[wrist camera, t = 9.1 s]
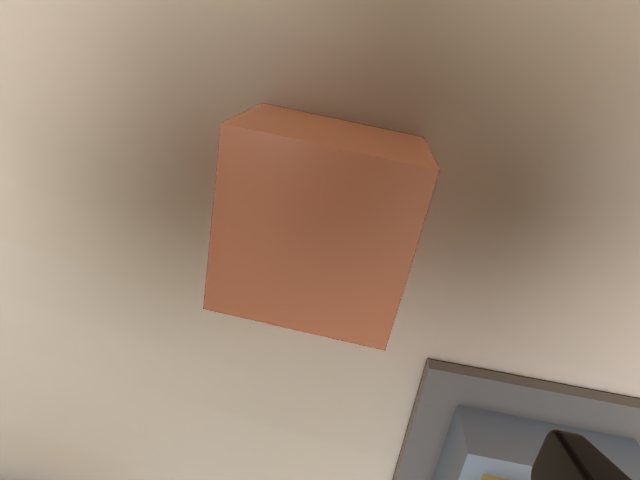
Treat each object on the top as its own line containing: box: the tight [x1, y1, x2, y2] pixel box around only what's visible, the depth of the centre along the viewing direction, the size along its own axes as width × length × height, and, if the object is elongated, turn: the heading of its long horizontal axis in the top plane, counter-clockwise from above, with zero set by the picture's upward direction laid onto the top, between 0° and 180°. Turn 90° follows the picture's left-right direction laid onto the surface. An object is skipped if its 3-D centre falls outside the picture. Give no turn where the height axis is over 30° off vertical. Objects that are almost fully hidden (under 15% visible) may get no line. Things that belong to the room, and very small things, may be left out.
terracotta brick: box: [203, 103, 440, 350], centre depth 14 cm, size 6×6×4 cm
